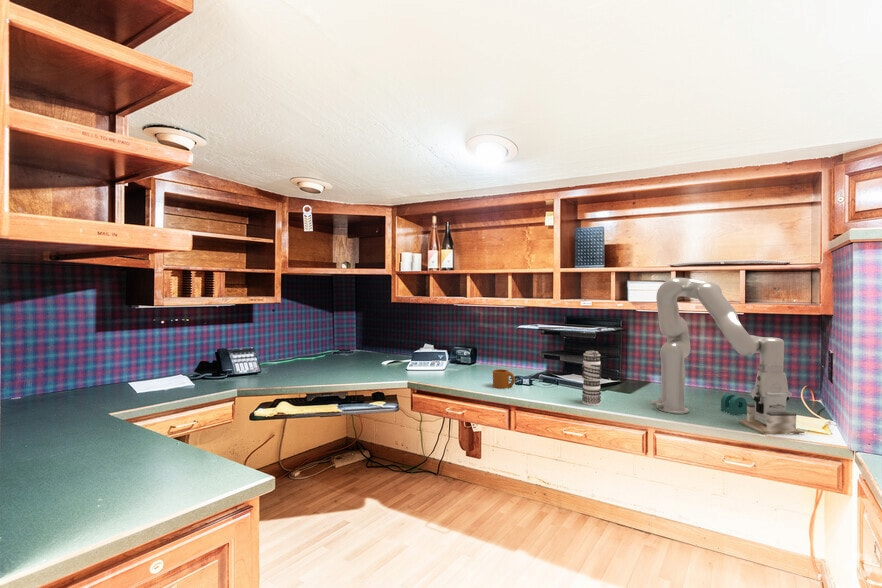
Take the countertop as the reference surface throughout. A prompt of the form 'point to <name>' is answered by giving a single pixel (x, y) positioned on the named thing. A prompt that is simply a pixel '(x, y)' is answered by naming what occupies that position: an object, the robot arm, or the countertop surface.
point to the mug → (502, 379)
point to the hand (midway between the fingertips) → (770, 412)
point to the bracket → (733, 404)
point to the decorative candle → (591, 378)
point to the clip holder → (772, 422)
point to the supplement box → (771, 405)
